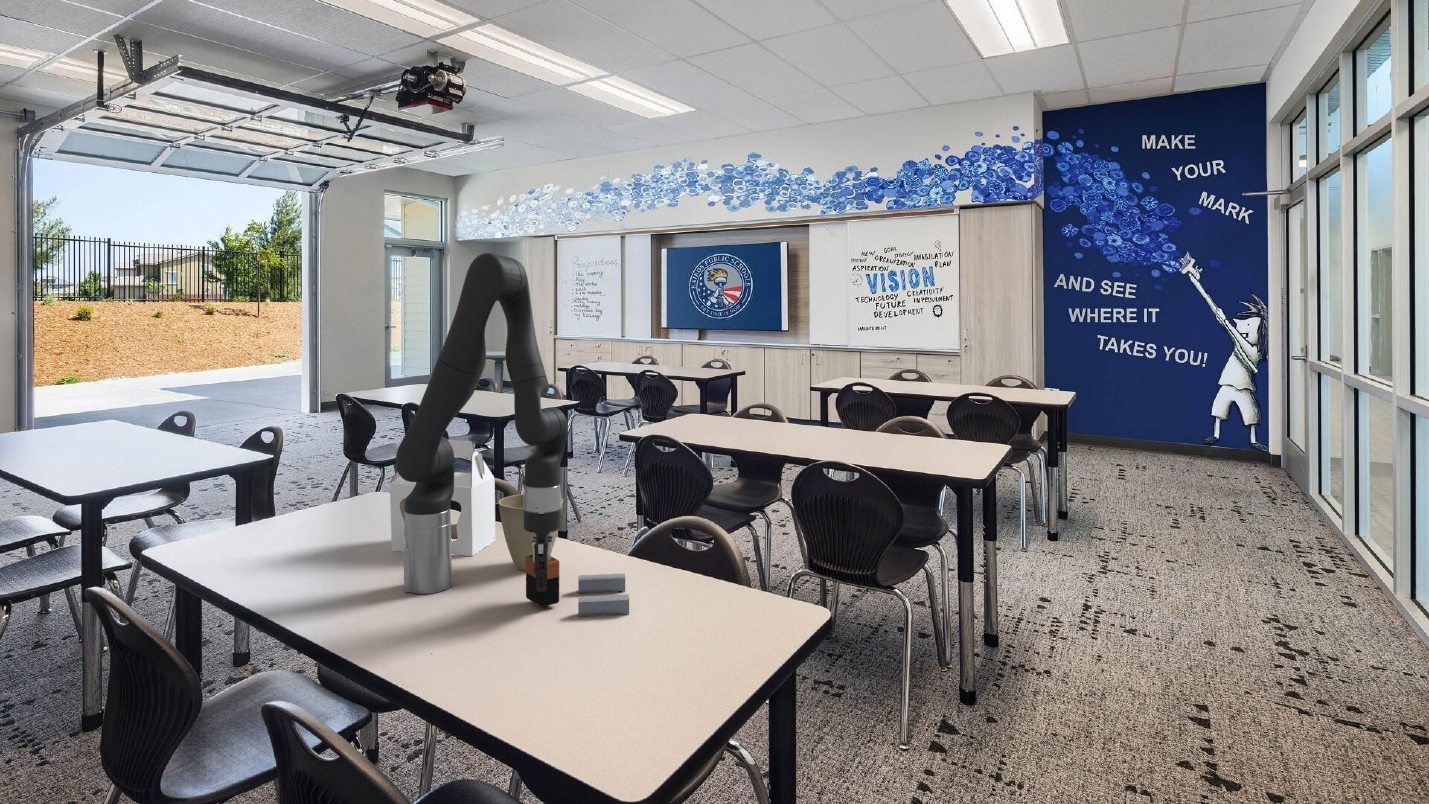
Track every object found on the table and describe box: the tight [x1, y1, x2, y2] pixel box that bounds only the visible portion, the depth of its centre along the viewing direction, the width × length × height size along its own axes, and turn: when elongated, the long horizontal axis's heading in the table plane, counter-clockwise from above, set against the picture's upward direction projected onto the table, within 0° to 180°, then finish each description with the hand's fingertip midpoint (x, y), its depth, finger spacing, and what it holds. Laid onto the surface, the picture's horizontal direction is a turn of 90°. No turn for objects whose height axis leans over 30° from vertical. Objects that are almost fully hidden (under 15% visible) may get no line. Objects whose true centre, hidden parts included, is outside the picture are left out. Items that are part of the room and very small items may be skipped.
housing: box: [577, 573, 630, 618], centre depth 157 cm, size 10×15×3 cm, turn 10°
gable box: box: [389, 438, 496, 557], centre depth 193 cm, size 22×13×28 cm, turn 81°
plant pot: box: [498, 493, 564, 571], centre depth 179 cm, size 15×15×16 cm
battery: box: [525, 555, 560, 608], centre depth 155 cm, size 4×7×10 cm, turn 42°
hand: (542, 584), depth 155 cm, fingers closed on battery, 8 cm apart
